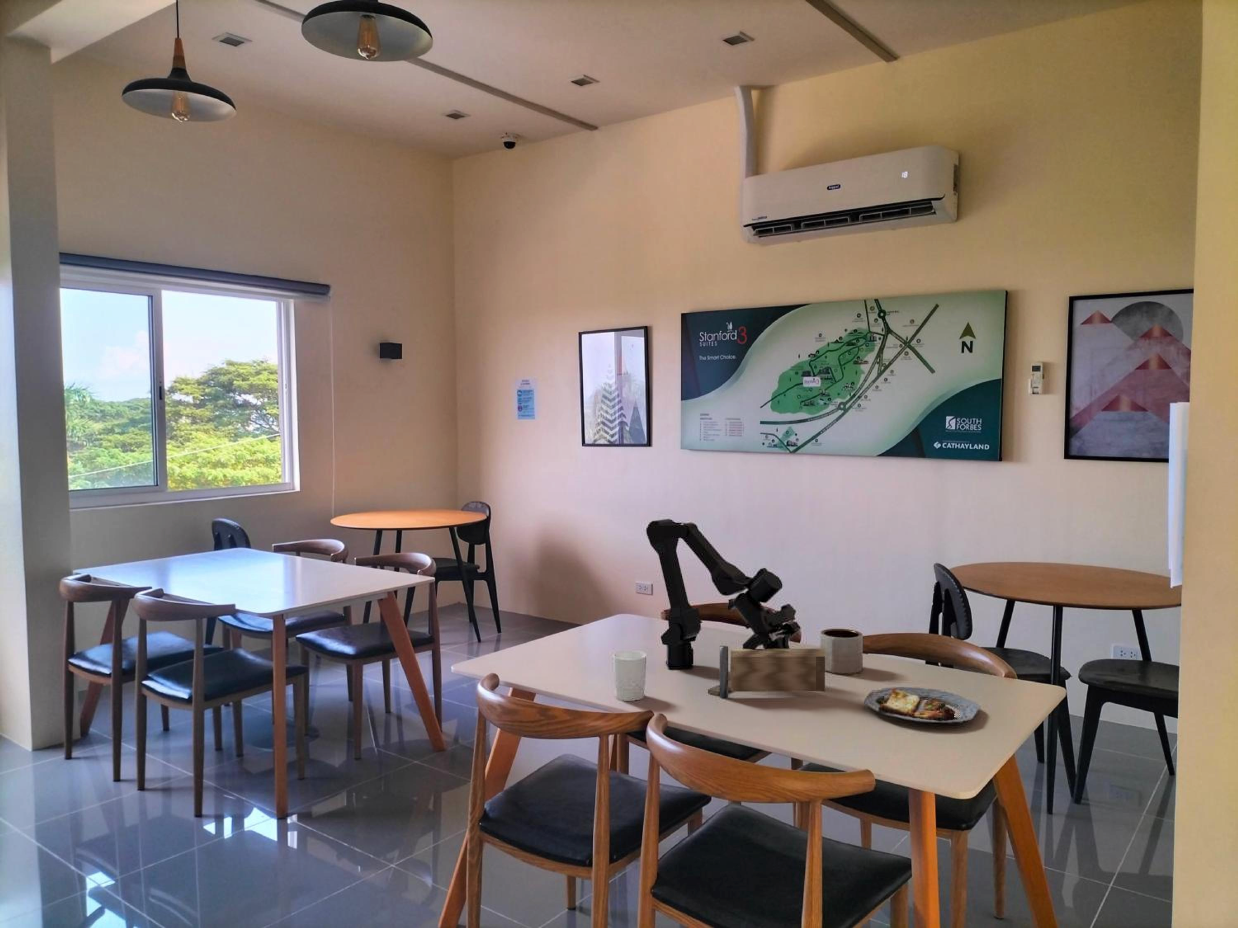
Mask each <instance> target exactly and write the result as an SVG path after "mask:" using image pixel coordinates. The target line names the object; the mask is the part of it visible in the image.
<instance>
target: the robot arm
mask: <svg viewBox="0 0 1238 928" xmlns="http://www.w3.org/2000/svg"><path fill="white" fill-rule="evenodd" d="M645 529H646V530H645V532H646V533H645V534H646V536H647V539H648V541H649V544H650V546H651V547H652V549H653V550H654V551H655V553H656V554H657V555H658V560H659V563H660V569H661V572H662V577H663V580H664V585H665V589H666V593H667V599H668V602H669V607H670V608H669V612H668V617H667V625H668V628H667V629H666V630H665V632H663V633H662V634H661V636H660V640H661V644H662V645H665V646H666V660H665V665H666V667H667V669H668V670H679V669H680V670H685V669H686V670H687V669H693V665H694V648H693V647H692V642H693V643H694V642H696V639H697V637H698V635H699V633H700V631H701V630H702V626H701V624H702V623H703V621H702V619H701V617H700V610H699V608H698V607H695V608H694V607H693V606H691V604H690V603H689V600H688V594H687V590H686V585H685V583H684V578H683V573H682V569H681V565H680V561H679V557H678V553H677V549H678V548H677V547H678V545H679V540H680V539H682V540H683V541H684V543H685V545H687V546H688V548H689V549H690V550H691V551H692V552H693V553H694V555H695V556H696V557H697V558H698V560H699V561H700V562H701V563H702V564H703V566H705V568H706V569H707V570H708V572H709V574H710V578H711V582H712V583H713V585H714V587H715V588H716V590H717V591H718V593H719V594H720V595H721V596H725V597H729V596H733V595H736V596H735V597H733V598H729V599H728V600H727V601H728V604H727V608H726V609H727V611H729V612H730V611H733V610H736V611H737V612H738V613H739V614H740V616H741V617H742V619H743V620H744V621H745V623H746V624H745V625H744V628H745V629H746V630H749V629H751V631H752V633H753V634H752V635H751V636H750V637H749V638H747V640H746V641H745V642H744V643H742V649H751V650H754V649H758V647H760V646H762V649H763V648H764V649H791V648H790V645H789V641H790V639H791V638H793V636H794V635H796V634H797V633H798V632H799V631H800V630H801V629H802V628H801V627H802V626H800V624H798V622H797V621H795V620H796V617H795V615H796V613H797V611H796V609H794V607H793V606H792V605H791V604H790V603H787V604H784V605H781V606H780V610H778V611H773V610H772V609H770V608H769V609H766V608H765V606H763V603H764V604H766V603H768V602H769V601H770V600H772V599H773V597H774V596H775V595H776V594H778V593H779V592H780V591H781V590H782V589H783V581H782V580H781V578H780V577H779V576H778V575H776V574H775V573H773V572H771V571H769V570H768V569H767V567H762V568H760V569H759V570H757V572H756V574H754V576H753V577H751V576H748V575H746V574H745V573H744V572H743V571H742V570H741V569H740V568H739V567H737V566H736V565H735V564H732V563H731V562H728V561H727V560H726V559H724V557H722V555H721V554H720V553H719V552H718V550H717V549H716V548H715V546H713V545H712V544H711V543H710V541H709V540H708V539H707V538H706V537H705V535H704V534H703V533H702V532H701V531H700V530H699V527H698V525H697V524H696V523H694V522H675V520H673V519H671V518H663V519H657V520H652V521H650V522H649V523H648V525H647V527H646V528H645ZM745 590H746V591H745ZM744 591H745V592H744ZM737 594H738V595H737Z"/></svg>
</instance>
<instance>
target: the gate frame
mask: <svg viewBox="0 0 1238 928" xmlns="http://www.w3.org/2000/svg"><path fill="white" fill-rule="evenodd" d="M762 649H764V648H763V647H762ZM729 692H731V690H730V680H729V646H727V645H720V646H719V684H718V685H715V686H713V687H710V688H708V689H707V694H708V695H713V696H716V697H719V698H720V699H728V698H729ZM719 695H720V696H719Z"/></svg>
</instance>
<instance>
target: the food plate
mask: <svg viewBox="0 0 1238 928" xmlns="http://www.w3.org/2000/svg"><path fill="white" fill-rule="evenodd" d="M923 700H927V701H924V704H922V703H920V701H923ZM863 704H864V706H866V707H867V708H868V709H870V710H872V711H873V712H874V713H875V712H876V713H878V714H881V715H883V716H885V717H892V718H898V719H900V720H901V719H902V720H906V721H907V720H908V721H910V722H913V723H915V722H916V723H925V724H928V723H929V724H930V723H931V724H934V723H935V724H946V725H948V724H956V725H957V724H962V723H963V722H964V721H965V722H966V723H968V722H969V721H972V719H974V718H975V716H977V713H978V712H979V710H980V709H981V706H980V705H979V703H977V702H974V701H973V700H971V699H968V698H966V697H964V696H962V695H959V694H955V693H953V692H948V691H945V690H944V691H943V690H940V689H932V688H925V687H917V686H915V687H912V686H911V687H909V686H891V687H883V688H881V689H877V690H876V689H874V690H871V691H870V692H869V693H868V694H867V695H866V696H865V698H864V700H863ZM921 705H922V706H921ZM947 705H949V706H951V708H949V706H947ZM944 706H946V707H944ZM952 707H954V709H952ZM955 708H956V709H957V710H958V711H959V712H960V713H958V714H961V717H959V716H960V715H958V717H959V718H958V717H954V716H955V715H956V712H955V710H956V709H955ZM979 708H980V709H979ZM940 709H942V710H940ZM954 714H955V715H954ZM964 717H965V718H964Z"/></svg>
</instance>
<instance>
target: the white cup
mask: <svg viewBox="0 0 1238 928" xmlns="http://www.w3.org/2000/svg"><path fill="white" fill-rule="evenodd" d="M612 661H613V679H614V690H615V692H614V693H615V694H614V695H615V698H616V699H617V700H619V701H625V702H636V701H635V700H637V701H640V700H642V698H643V699H644V697H645V687H646V677H647V675H646V674H647V672H646V671H647V654H646V653H645V652H643V651H637V650H623V651H622V650H621V651H617V652H615V653H613V655H612Z"/></svg>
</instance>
